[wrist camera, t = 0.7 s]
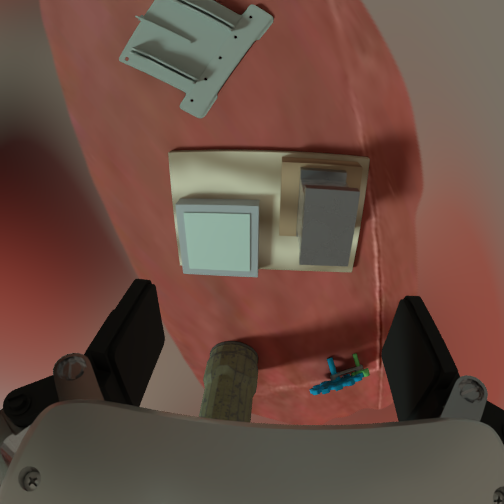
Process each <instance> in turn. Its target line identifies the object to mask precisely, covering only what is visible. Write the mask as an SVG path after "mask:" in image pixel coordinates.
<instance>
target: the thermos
mask: <svg viewBox="0 0 504 504" xmlns="http://www.w3.org/2000/svg"><path fill="white" fill-rule="evenodd" d="M257 363H258V356H257V353H256V352H255V350H254V349H253V348H251V347H250V346H248V345H246V344H244V343H241V342H235V341H226V342H222V343H219V344H217V345H215V346H214V347H213V348H212V350H211V352H210V358H209V360H208V362H207V366H206V370H205V375H204V379H203V381H204V386H205V390H204V395H203V400H202V405H201V410H200V414H199V417H203V418H211V419H219V420H228V421H239V422H250V420H251V409H252V398H253V396H254V394H255V392H256V387H257V379H258V367H257Z"/></svg>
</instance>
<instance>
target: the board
mask: <svg viewBox="0 0 504 504" xmlns="http://www.w3.org/2000/svg"><path fill="white" fill-rule="evenodd" d="M168 155H169V167H170V179H171V190H172V200H173V210H174V219H175V228H176V236H177V244H178V252H179V260H180V265H182V259H181V251H180V242H179V234H178V225H177V216H176V206H175V204H176V203H177V202H178V200H179V199H180V198H182V199H247V200H260V201H259V263H258V269H275V270H301V271H329V272H352V268H353V263H354V258H355V253H356V248H357V242H358V237H359V231H360V225H361V219H362V213H363V206H364V200H365V193H366V186H367V178H368V171H369V162H370V159H369V158H368V157H362V156H352V155H341V154H328V153H314V152H297V151H274V150H179V151H170V152H169V153H168ZM282 157H298V158H315V159H329V160H342V161H353V162H358V163H359V164H360V165H361V166H362V167H363V170H362V178H361V186H360V196H359V203H358V210H357V217H356V223H355V229H354V235H353V241H352V247H351V253H350V258H349V263H348V267H346V266H318V265H299V252H300V250H299V241H298V237H296V236H279V215H280V192H281V165H282Z"/></svg>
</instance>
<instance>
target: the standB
mask: <svg viewBox="0 0 504 504" xmlns="http://www.w3.org/2000/svg"><path fill="white" fill-rule="evenodd" d="M259 201H260V200H247V199H182V198H180V199H179V200H178V202H177V203H176V204H175V206H176V216H177V225H178V234H179V242H180V251H181V259H182V266H183V273H184V274H201V275H221V276H241V277H258V263H259Z"/></svg>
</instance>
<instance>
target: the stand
mask: <svg viewBox="0 0 504 504" xmlns="http://www.w3.org/2000/svg"><path fill="white" fill-rule="evenodd" d="M300 167H304V168H320V169H335V170H345V171H346V172H347V177H346V182H347V184H348V186H349V187H350V188H358V189H359V191H360V186H361V178H362V170H363V167H362V166H361V165H360V164H359V163H358V162H353V161H342V160H329V159H315V158H298V157H282V165H281V192H280V215H279V236H296V227H297V213H298V198H299V182H300Z"/></svg>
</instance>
